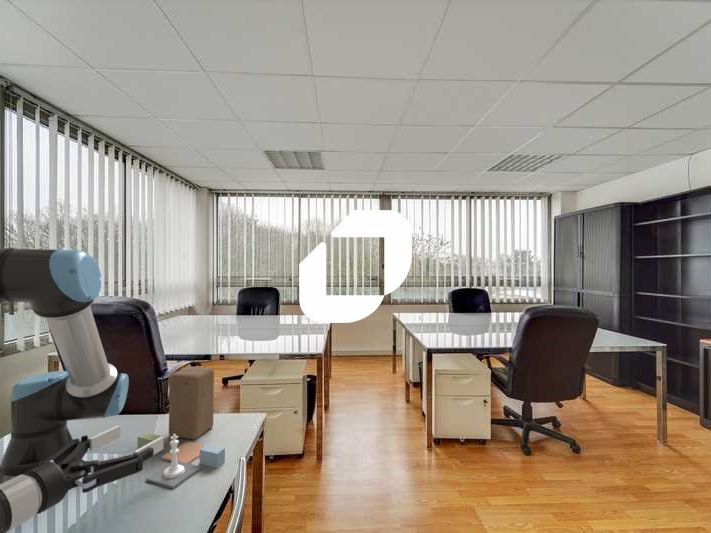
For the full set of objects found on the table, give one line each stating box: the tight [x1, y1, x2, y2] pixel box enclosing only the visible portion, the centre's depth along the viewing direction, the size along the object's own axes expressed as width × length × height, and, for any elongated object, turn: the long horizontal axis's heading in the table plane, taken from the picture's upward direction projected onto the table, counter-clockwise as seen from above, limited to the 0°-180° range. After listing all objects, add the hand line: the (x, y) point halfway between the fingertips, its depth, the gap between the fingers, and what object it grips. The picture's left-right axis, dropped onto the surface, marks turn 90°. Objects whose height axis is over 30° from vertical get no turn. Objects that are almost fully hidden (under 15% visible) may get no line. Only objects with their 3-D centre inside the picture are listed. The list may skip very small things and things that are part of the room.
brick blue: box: [199, 444, 226, 469], centre depth 98 cm, size 6×3×4 cm, turn 70°
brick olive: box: [136, 431, 163, 450], centre depth 104 cm, size 6×3×4 cm, turn 70°
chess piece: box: [163, 434, 185, 478], centre depth 92 cm, size 5×5×10 cm
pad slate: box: [145, 461, 202, 490], centre depth 92 cm, size 9×9×1 cm
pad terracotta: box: [161, 441, 205, 464], centre depth 102 cm, size 9×9×1 cm
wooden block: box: [168, 365, 215, 440], centre depth 116 cm, size 10×10×20 cm
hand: (140, 436), depth 82 cm, fingers open, 13 cm apart
